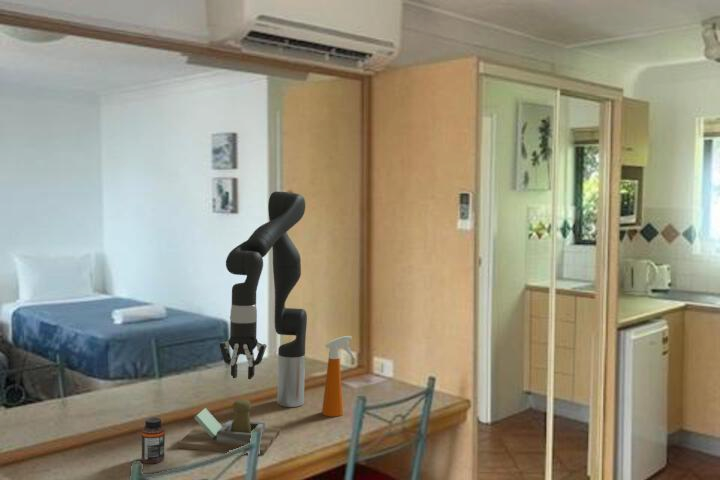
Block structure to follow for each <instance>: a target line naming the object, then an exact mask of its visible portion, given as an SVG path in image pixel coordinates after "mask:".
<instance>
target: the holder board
mask: <svg viewBox="0 0 720 480" xmlns="http://www.w3.org/2000/svg"><path fill="white" fill-rule="evenodd" d="M233 421H234V419H232V420H231V419H229V420H228V421H227V422H225V423H219V424H220V425H221V426H222V428H221V429H220V430H219V431H218V432H217V437H216V438H215V439H212V437H211V436H210V435H209V434H208V433H207V432H206V431H205V430H204V428H203V427H202V426H201V425H200V424H199V423H198V425H197V426H195V427H194V428H193V429H192V430H191V431H189V432H188V433H187V434H186V435H185V436H184V437H183V438H181V439H180V440H179V441H178V442H177V443H178V445H177V448H178V449H179V448H180V449H187V448H189V449H188V450H198V451H199V450H200V451H201V450H202V451H212V452H213V451H215V452H224V453H227V452H226V451H229V450H233V449H236V448H239V447H241V446H244V445H246V444H248V443H250V438H251V433H243V432H232V427H233ZM250 425H251V431H252V430H253V429H259V430H261V432H262V437H261V444H260V455H259V456H264V455H265V454H266V453H267V452H268V450H269V448H270V447H271V446H272V444H273V443H274V442H275V440H276V439H277V438H278V436H279V435H280V433H281V429H280V428H276V427H266V423H265V422H260V421H259V422H258V421H250Z"/></svg>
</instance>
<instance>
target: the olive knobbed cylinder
mask: <svg viewBox="0 0 720 480" xmlns="http://www.w3.org/2000/svg"><path fill="white" fill-rule="evenodd" d="M251 408H252V404H251V401H249V400H248V399H237V400H235V401H234V402H233V403H232V410H233V412H234V416H233V420H234V421H233V427H232V432H243V433H251V425H250V422H251V418H250V411H251V410H252V409H251Z"/></svg>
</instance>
